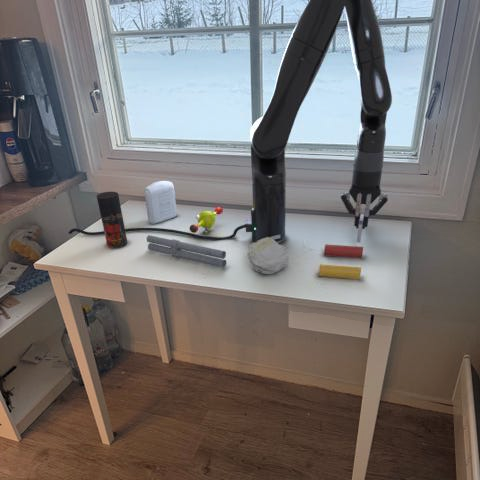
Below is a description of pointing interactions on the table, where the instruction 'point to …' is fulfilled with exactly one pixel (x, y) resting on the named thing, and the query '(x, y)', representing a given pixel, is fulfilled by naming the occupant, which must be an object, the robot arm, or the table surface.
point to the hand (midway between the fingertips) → (360, 227)
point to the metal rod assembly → (179, 248)
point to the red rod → (343, 251)
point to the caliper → (360, 228)
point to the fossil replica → (267, 256)
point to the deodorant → (112, 219)
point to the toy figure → (206, 220)
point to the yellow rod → (339, 271)
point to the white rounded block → (160, 201)
